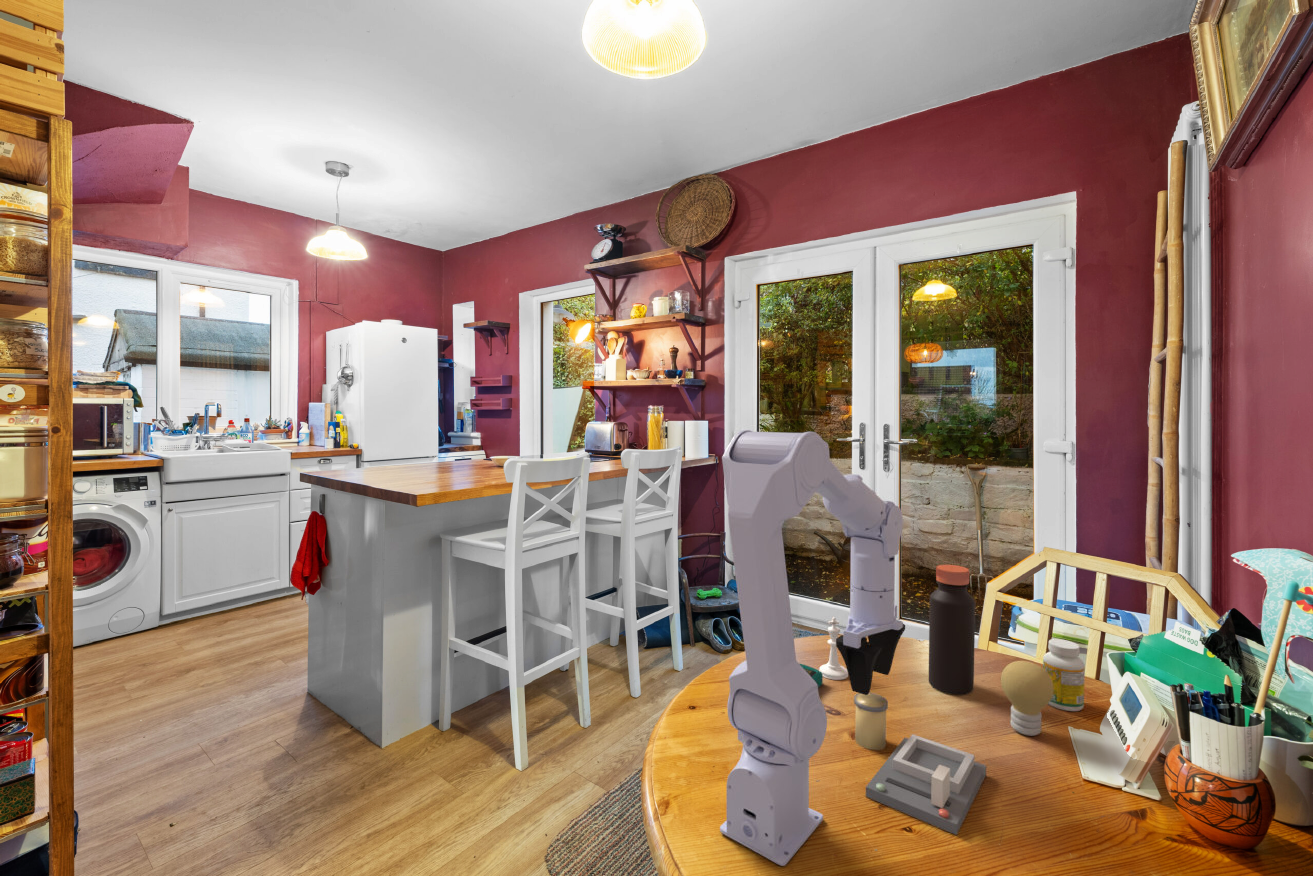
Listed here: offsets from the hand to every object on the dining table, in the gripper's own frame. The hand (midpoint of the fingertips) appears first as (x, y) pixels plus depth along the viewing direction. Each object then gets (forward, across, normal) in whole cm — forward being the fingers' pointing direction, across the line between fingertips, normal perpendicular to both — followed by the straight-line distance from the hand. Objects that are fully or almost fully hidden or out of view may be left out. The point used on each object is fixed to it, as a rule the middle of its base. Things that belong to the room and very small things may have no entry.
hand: (871, 682), depth 82 cm
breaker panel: (+8, -5, -9) cm, 13 cm away
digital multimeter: (+9, +5, +16) cm, 19 cm away
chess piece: (+9, +17, +13) cm, 23 cm away
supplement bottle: (+9, +30, -19) cm, 37 cm away
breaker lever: (+7, -9, -12) cm, 16 cm away
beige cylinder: (+8, 0, 0) cm, 9 cm away
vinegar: (+9, +25, -4) cm, 27 cm away
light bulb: (+9, +17, -16) cm, 25 cm away
